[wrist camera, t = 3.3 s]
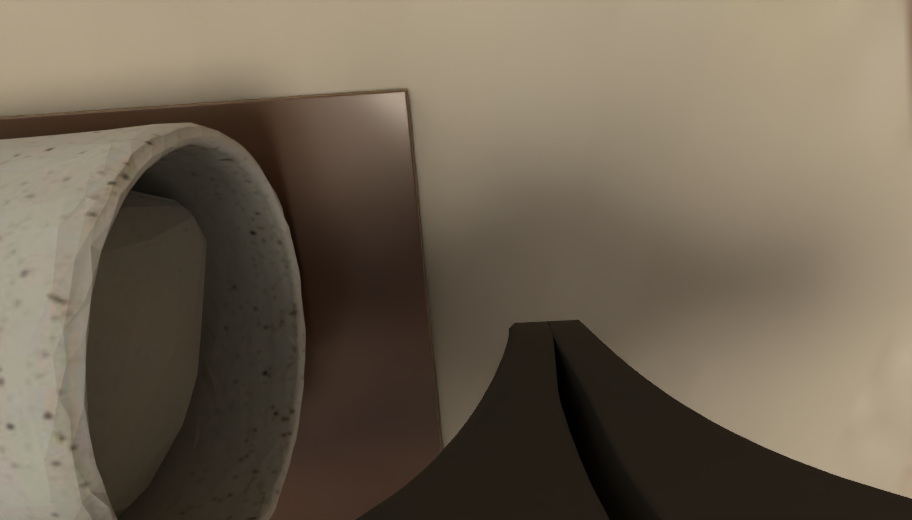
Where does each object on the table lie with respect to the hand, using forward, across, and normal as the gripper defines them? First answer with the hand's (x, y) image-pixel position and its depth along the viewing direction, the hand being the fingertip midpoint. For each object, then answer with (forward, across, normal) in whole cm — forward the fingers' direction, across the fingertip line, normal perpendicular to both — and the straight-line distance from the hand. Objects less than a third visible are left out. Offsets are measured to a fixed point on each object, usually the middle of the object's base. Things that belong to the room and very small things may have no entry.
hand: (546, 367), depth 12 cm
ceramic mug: (+3, +9, 0) cm, 9 cm away
